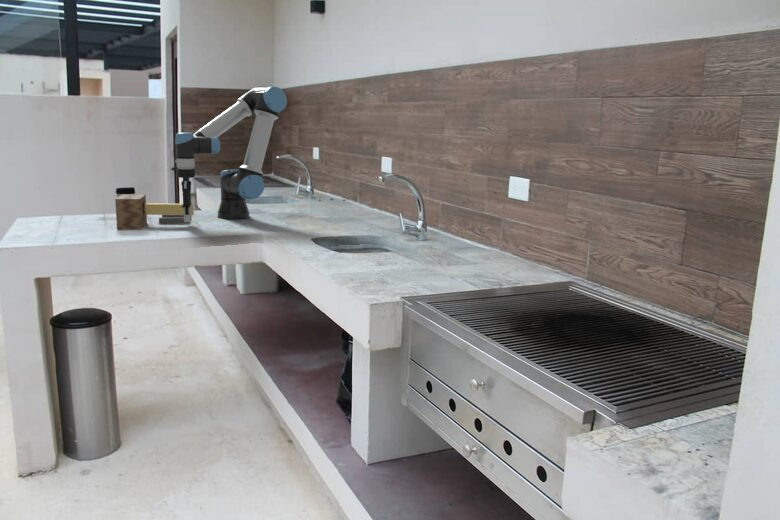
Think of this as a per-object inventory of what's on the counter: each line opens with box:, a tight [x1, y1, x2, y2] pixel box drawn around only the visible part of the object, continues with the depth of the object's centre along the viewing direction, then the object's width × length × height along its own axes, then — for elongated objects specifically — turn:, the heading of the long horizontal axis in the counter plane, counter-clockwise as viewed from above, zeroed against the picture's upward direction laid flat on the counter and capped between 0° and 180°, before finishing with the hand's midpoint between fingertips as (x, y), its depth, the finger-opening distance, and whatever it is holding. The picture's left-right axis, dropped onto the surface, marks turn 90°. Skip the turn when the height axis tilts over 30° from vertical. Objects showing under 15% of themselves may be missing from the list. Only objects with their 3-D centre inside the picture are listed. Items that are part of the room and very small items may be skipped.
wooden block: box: [114, 193, 148, 230], centre depth 284 cm, size 10×16×13 cm, turn 13°
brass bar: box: [145, 202, 195, 216], centre depth 288 cm, size 20×4×4 cm, turn 103°
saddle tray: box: [158, 215, 191, 225], centre depth 300 cm, size 13×13×3 cm
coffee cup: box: [115, 186, 136, 198], centre depth 300 cm, size 8×8×15 cm
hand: (187, 220), depth 290 cm, fingers closed on brass bar, 4 cm apart
